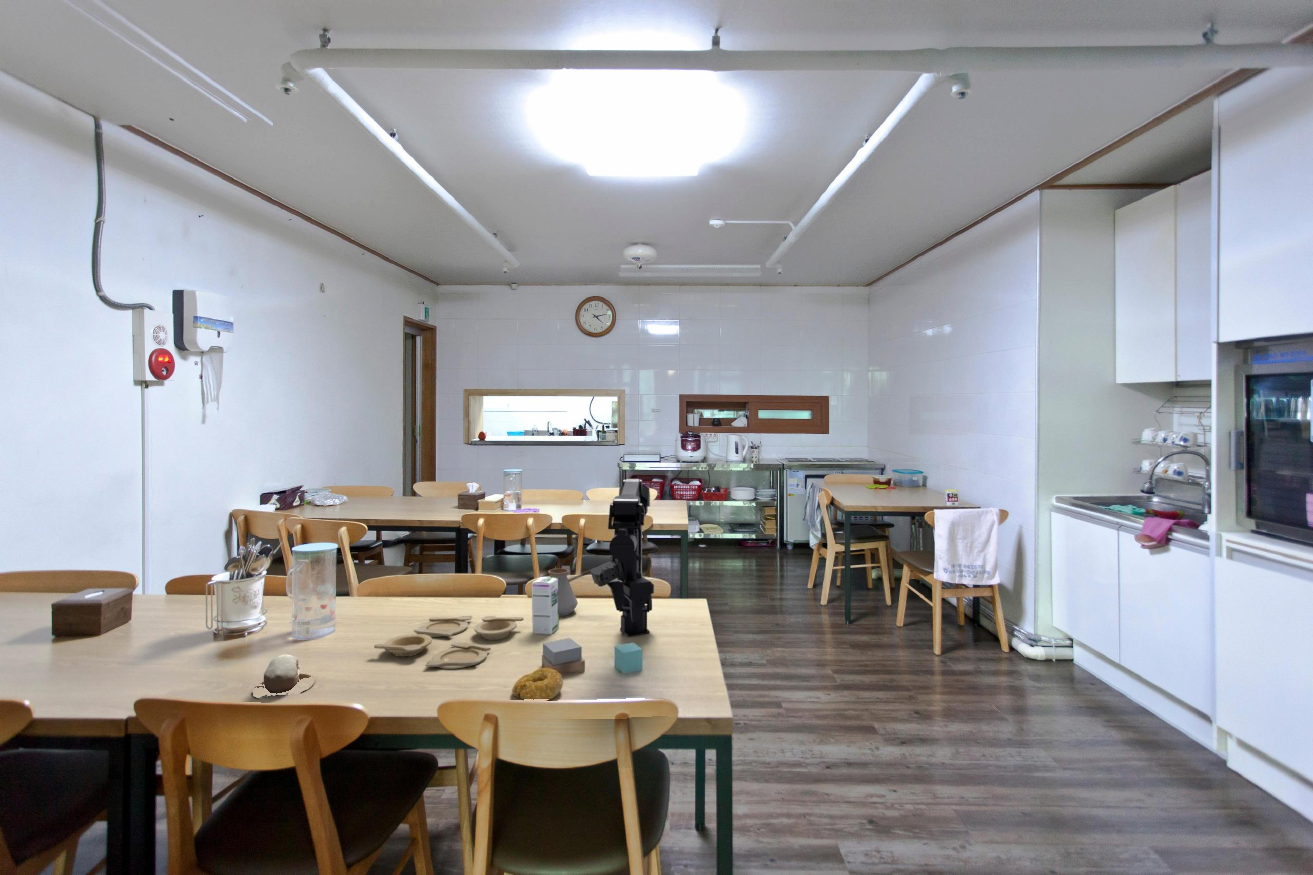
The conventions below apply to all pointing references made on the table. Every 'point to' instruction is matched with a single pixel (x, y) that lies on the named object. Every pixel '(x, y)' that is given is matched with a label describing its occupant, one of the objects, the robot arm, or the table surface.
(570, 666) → the walnut slab
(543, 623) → the syrup box
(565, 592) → the coffee pot
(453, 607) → the table surface
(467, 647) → the tableware set
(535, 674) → the bagel
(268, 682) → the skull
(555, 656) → the grey square block
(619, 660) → the teal cube
